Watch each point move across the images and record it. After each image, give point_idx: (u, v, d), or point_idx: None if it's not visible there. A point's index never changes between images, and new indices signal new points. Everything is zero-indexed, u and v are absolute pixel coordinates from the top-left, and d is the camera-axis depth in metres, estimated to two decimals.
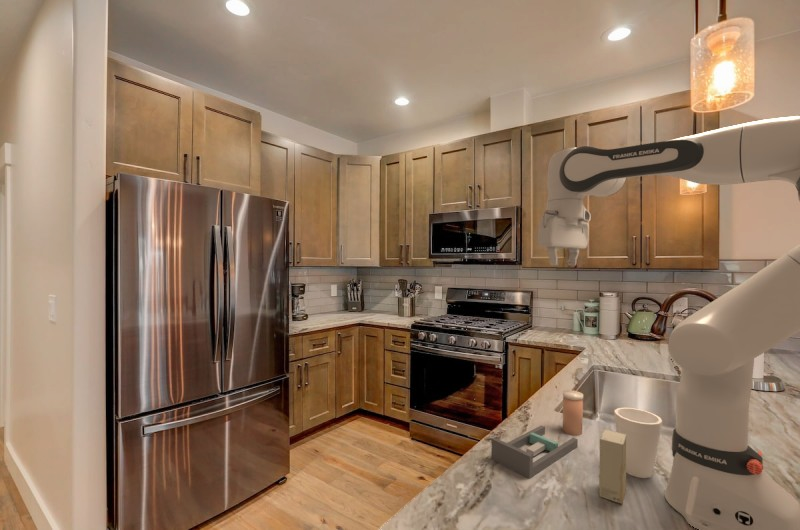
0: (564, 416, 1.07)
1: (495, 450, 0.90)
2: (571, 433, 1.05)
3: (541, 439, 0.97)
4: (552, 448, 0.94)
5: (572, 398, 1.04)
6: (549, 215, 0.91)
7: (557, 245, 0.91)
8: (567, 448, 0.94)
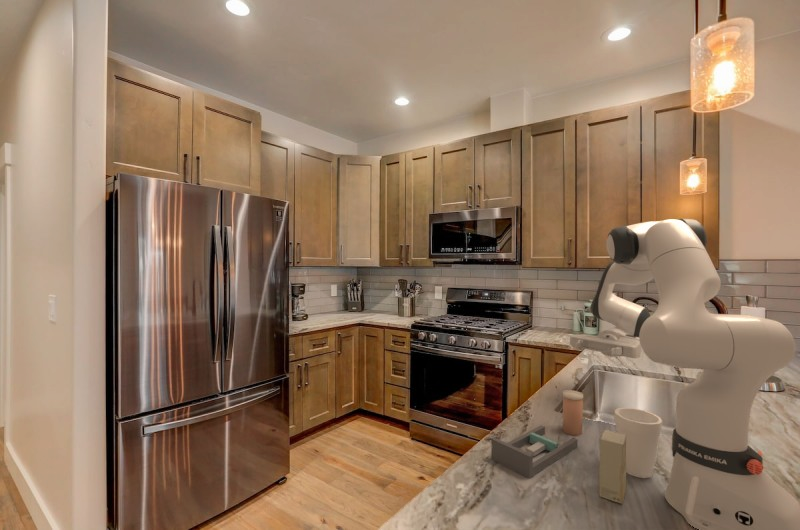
0: (564, 416, 1.07)
1: (495, 450, 0.90)
2: (571, 433, 1.05)
3: (541, 439, 0.97)
4: (552, 448, 0.94)
5: (572, 398, 1.04)
6: None
7: (579, 337, 1.23)
8: (567, 448, 0.94)
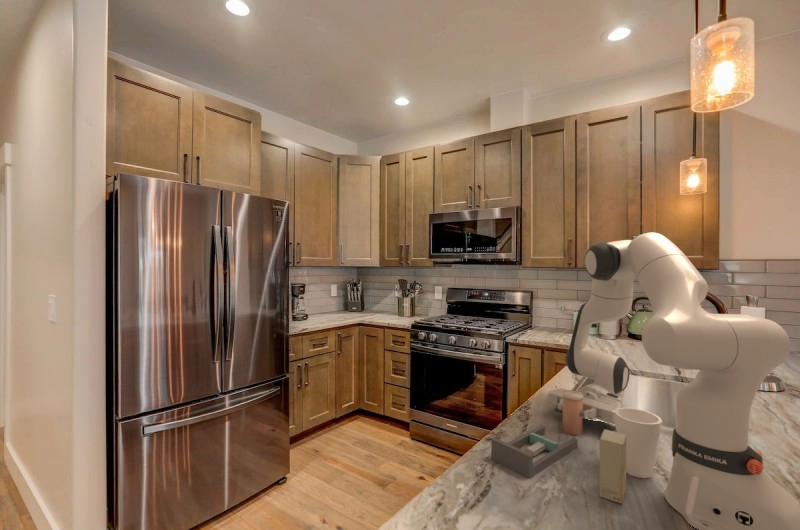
0: (564, 416, 1.07)
1: (495, 450, 0.90)
2: (571, 433, 1.05)
3: (541, 439, 0.97)
4: (552, 448, 0.94)
5: (572, 398, 1.04)
6: None
7: (557, 394, 1.15)
8: (567, 448, 0.94)
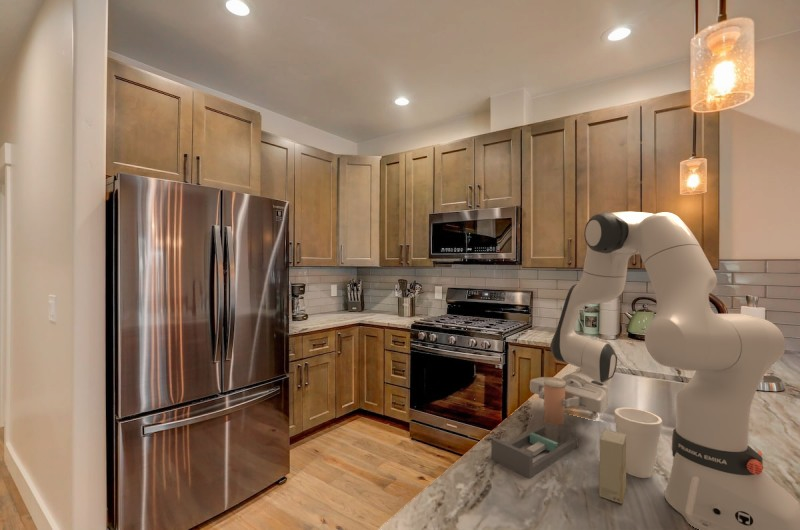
0: (545, 405, 0.99)
1: (495, 450, 0.90)
2: (552, 423, 0.98)
3: (541, 439, 0.97)
4: (552, 448, 0.94)
5: (553, 385, 0.97)
6: None
7: (539, 382, 1.08)
8: (567, 448, 0.94)
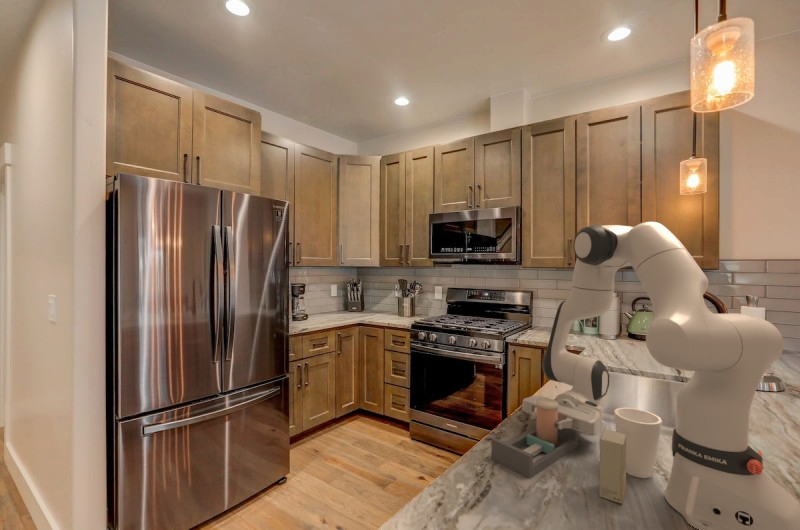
0: (537, 427, 0.97)
1: (495, 450, 0.90)
2: None
3: (538, 441, 0.96)
4: (549, 450, 0.93)
5: (546, 407, 0.95)
6: None
7: (532, 402, 1.05)
8: (567, 448, 0.94)
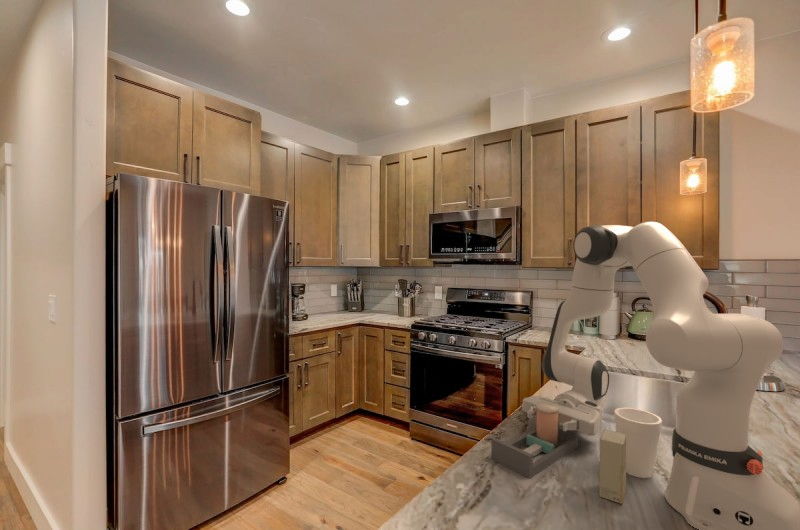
0: (538, 430, 0.97)
1: (495, 450, 0.90)
2: None
3: (538, 441, 0.96)
4: (549, 450, 0.93)
5: (546, 411, 0.95)
6: None
7: (532, 402, 1.05)
8: (567, 448, 0.94)
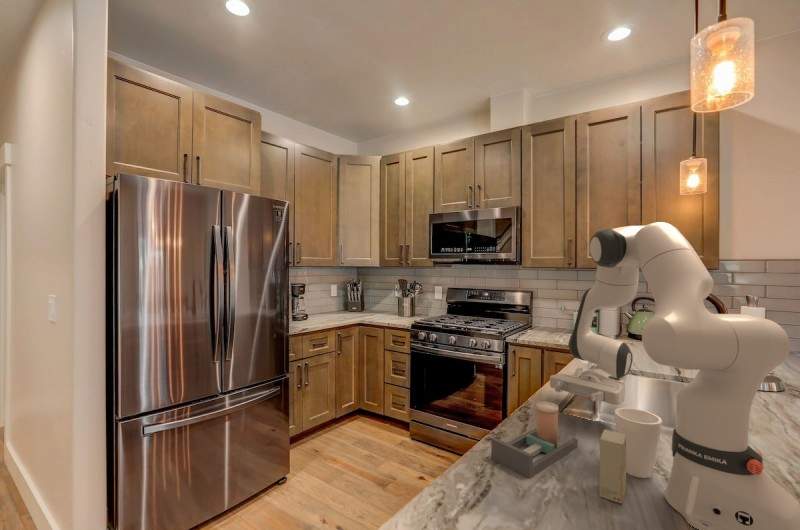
0: (538, 430, 0.97)
1: (495, 450, 0.90)
2: None
3: (538, 441, 0.96)
4: (549, 450, 0.93)
5: (546, 411, 0.95)
6: None
7: (559, 378, 1.14)
8: (567, 448, 0.94)
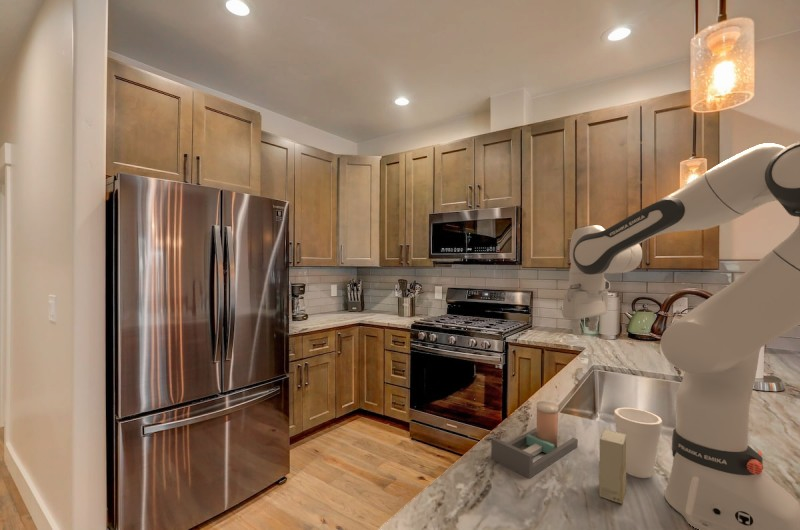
0: (538, 430, 0.97)
1: (495, 450, 0.90)
2: None
3: (538, 441, 0.96)
4: (549, 450, 0.93)
5: (546, 411, 0.95)
6: (573, 290, 0.99)
7: (580, 317, 0.99)
8: (567, 448, 0.94)
